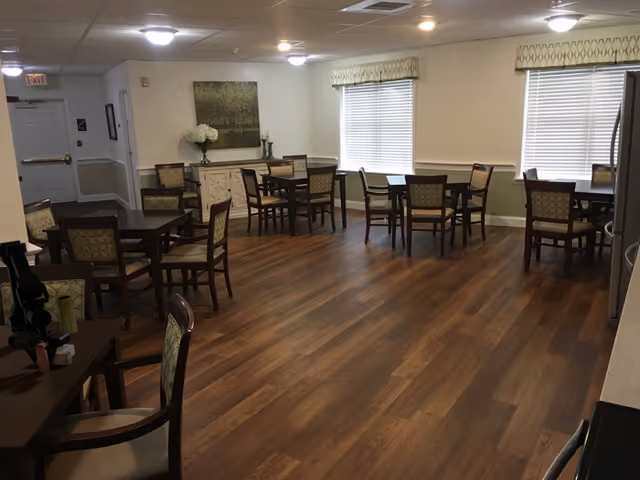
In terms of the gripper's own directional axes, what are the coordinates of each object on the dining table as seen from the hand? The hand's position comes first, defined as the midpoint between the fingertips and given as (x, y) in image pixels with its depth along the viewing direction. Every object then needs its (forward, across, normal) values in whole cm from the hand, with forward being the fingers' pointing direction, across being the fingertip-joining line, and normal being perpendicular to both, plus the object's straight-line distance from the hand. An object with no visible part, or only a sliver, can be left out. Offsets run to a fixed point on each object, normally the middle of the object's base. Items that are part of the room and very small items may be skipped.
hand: (43, 363), depth 169 cm
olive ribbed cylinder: (+3, -11, +30) cm, 32 cm away
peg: (+2, 0, 0) cm, 2 cm away
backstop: (+2, 0, +5) cm, 6 cm away
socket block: (+2, 0, +9) cm, 9 cm away
